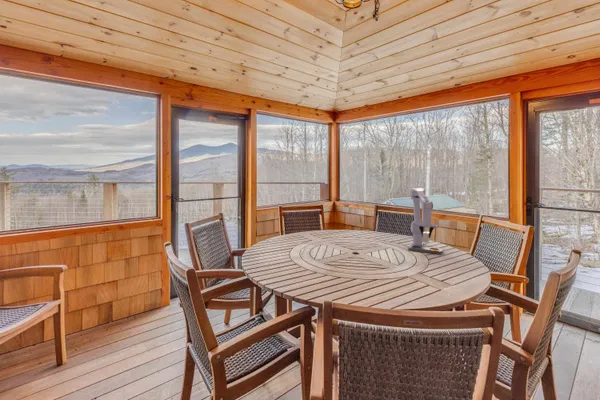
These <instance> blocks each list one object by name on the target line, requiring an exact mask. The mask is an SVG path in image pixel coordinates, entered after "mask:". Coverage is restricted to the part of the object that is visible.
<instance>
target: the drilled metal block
mask: <svg viewBox="0 0 600 400" xmlns="http://www.w3.org/2000/svg"><path fill="white" fill-rule="evenodd" d="M430 239H431V237H430V238H429V231H425V232H423V243H424V244H425V243H426V244H429V243H430Z"/></svg>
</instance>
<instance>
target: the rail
mask: <svg viewBox="0 0 600 400" xmlns="http://www.w3.org/2000/svg"><path fill="white" fill-rule="evenodd" d="M443 249H444V248H439V247H434V246H433V247H432V246H431V247H429V246H423V245H422V246H419V245H411V244H410V245H409V246H408V248H407V250H408V251H411V252H419V253H420V252H421V253H427V254H435V255H436V254H437V255H442V254H443V252H444V250H443Z"/></svg>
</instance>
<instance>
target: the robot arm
mask: <svg viewBox="0 0 600 400" xmlns="http://www.w3.org/2000/svg"><path fill="white" fill-rule="evenodd" d="M409 192H410V194H409V195H410V200H412V203H413V204H412V205H413V217H414V218H413V219H414V221H412V222H411V223H410V231H411V233H412V242H411V244H410V245H414V246H423V245H424V244H425V243H424V242H423V232H426V228H428V229H429V230H428V232H429V238H430V239H431V237H432V234H433V230H434V229H438V227H439V225H436V224H432V211H433V209H434V203H433V201H431V200H429V198H428V197H427V196H426V188H424V187H422V188H421V187H418V188H417V187H415V188H414V187H412V188H411V189H410V191H409ZM421 211H422V215H421ZM421 216H422V217H421Z"/></svg>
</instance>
